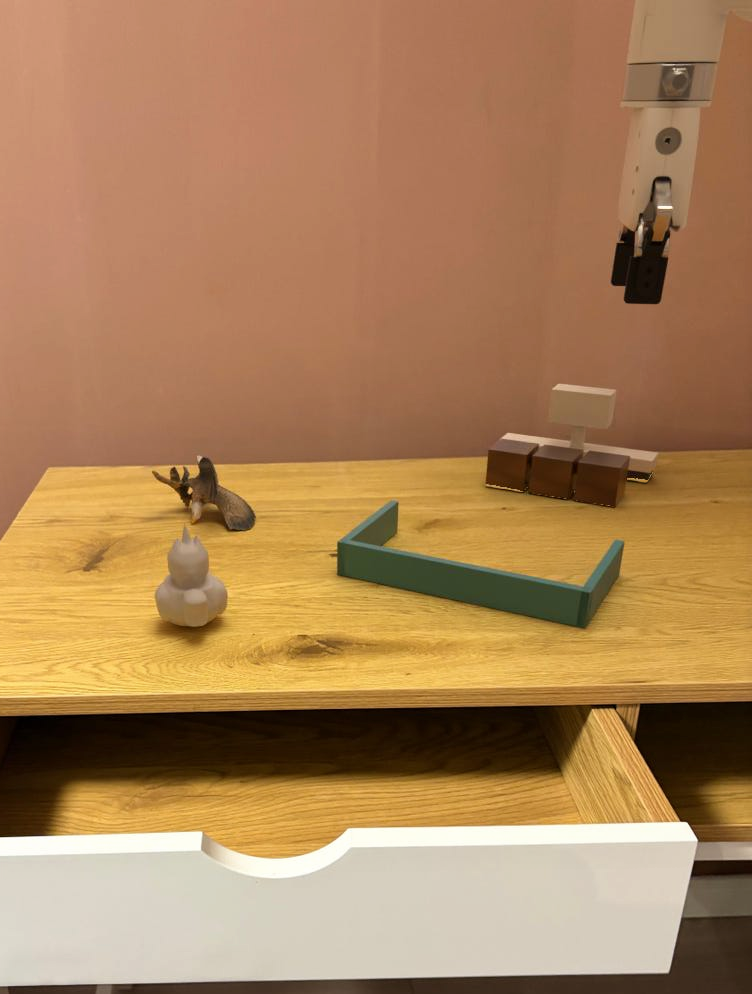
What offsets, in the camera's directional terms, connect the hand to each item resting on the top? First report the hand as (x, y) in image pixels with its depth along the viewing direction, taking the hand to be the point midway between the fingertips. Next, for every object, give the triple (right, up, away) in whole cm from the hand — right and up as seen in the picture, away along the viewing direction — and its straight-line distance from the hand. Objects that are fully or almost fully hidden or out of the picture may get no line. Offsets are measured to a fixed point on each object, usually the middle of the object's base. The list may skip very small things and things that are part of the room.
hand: (633, 294), depth 93 cm
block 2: (-6, -18, +5) cm, 20 cm away
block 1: (-10, -17, +7) cm, 21 cm away
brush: (-3, -15, +11) cm, 18 cm away
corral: (-17, -28, -12) cm, 35 cm away
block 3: (-2, -19, +3) cm, 19 cm away
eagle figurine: (-41, -22, +1) cm, 46 cm away
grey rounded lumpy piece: (-41, -32, -19) cm, 55 cm away
